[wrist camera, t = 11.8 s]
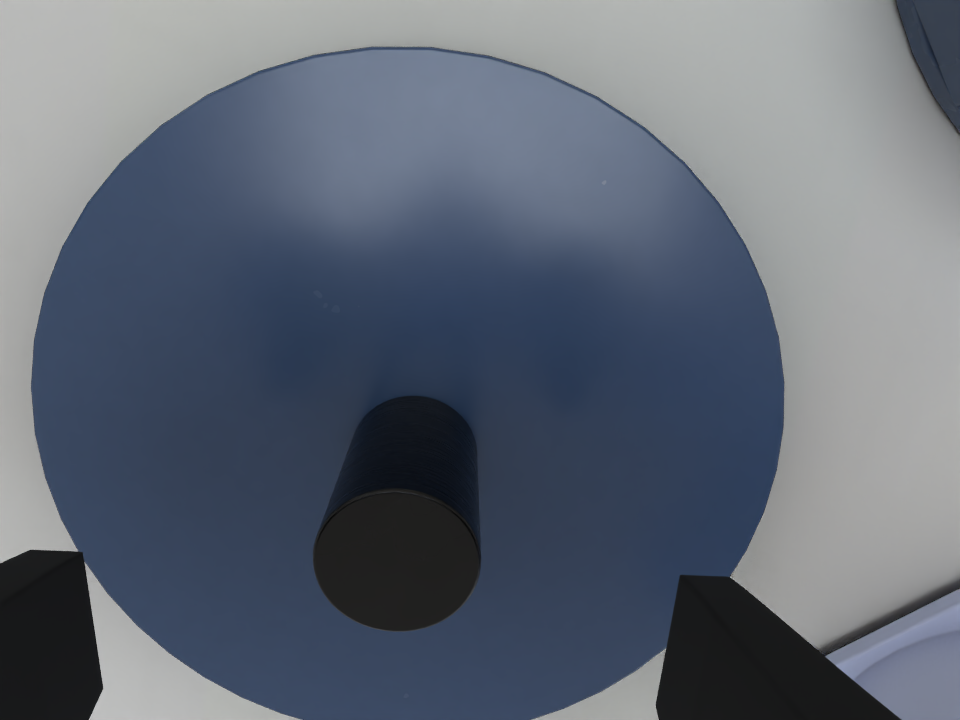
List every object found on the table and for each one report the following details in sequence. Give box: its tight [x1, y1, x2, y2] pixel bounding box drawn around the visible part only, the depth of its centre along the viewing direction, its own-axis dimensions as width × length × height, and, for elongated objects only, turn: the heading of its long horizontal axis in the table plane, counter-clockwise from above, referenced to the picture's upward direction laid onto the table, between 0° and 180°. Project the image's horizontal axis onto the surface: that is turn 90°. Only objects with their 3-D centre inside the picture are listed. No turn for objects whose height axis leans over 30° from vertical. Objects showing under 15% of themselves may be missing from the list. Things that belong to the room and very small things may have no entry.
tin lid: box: [31, 47, 784, 720], centre depth 12 cm, size 14×14×5 cm
